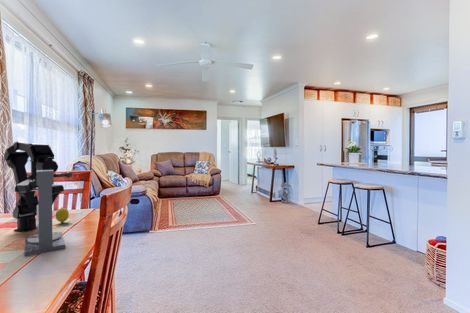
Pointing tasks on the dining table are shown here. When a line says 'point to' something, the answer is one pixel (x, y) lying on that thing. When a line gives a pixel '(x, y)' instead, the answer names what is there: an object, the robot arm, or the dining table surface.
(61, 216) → the lemon
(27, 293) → the dining table surface
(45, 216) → the stand
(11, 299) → the dining table surface
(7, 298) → the dining table surface
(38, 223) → the silver metal bottle
